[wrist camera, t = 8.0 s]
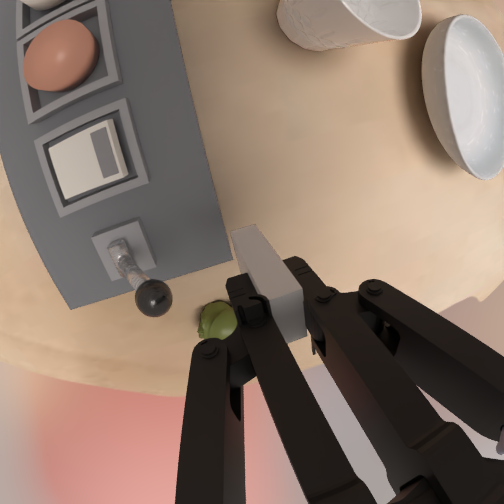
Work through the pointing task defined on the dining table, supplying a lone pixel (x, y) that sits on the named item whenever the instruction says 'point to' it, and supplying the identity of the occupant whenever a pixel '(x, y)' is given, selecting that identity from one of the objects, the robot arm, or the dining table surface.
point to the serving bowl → (466, 94)
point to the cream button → (42, 4)
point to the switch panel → (131, 143)
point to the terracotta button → (60, 57)
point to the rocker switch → (88, 159)
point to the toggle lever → (141, 282)
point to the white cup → (347, 22)
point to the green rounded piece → (217, 321)
